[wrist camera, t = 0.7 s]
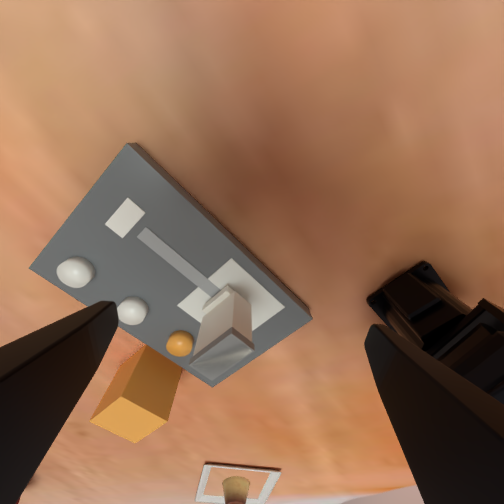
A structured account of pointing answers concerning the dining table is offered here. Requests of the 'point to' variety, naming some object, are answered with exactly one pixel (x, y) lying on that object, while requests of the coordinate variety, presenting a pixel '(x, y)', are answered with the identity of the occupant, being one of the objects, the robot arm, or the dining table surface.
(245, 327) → the lever
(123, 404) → the mustard yellow cube
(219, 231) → the breaker panel
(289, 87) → the dining table surface
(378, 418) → the dining table surface
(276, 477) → the dessert
